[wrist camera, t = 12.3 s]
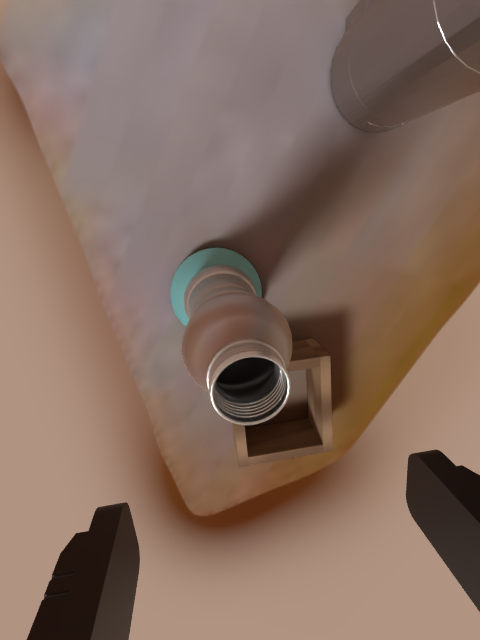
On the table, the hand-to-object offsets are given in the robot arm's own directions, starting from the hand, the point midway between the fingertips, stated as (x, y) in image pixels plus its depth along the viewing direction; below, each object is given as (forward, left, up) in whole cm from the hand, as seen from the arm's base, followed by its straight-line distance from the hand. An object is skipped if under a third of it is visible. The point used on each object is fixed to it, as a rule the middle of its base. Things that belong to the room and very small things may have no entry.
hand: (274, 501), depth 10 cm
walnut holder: (+12, +5, -27) cm, 30 cm away
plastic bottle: (0, 0, -26) cm, 26 cm away
